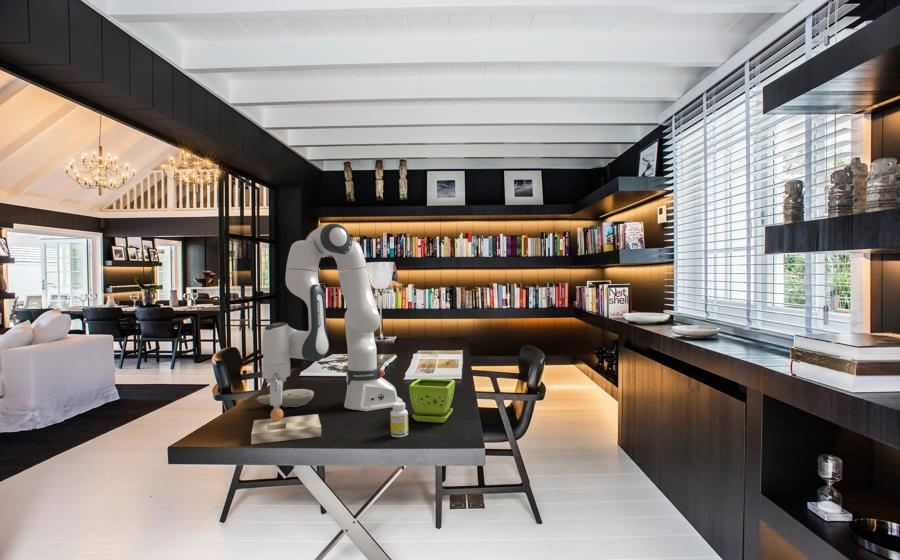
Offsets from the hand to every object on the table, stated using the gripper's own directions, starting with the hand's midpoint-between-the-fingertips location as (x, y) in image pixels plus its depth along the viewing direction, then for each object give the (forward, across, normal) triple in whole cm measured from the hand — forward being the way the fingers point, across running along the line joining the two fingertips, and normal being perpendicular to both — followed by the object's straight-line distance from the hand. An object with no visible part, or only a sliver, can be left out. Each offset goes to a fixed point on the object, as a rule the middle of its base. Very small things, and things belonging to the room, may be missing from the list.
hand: (276, 412), depth 160 cm
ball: (-1, -6, 0) cm, 6 cm away
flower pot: (+4, -12, -51) cm, 53 cm away
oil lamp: (+4, +25, -3) cm, 25 cm away
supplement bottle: (+4, -25, -36) cm, 44 cm away
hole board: (+4, -10, -3) cm, 11 cm away
